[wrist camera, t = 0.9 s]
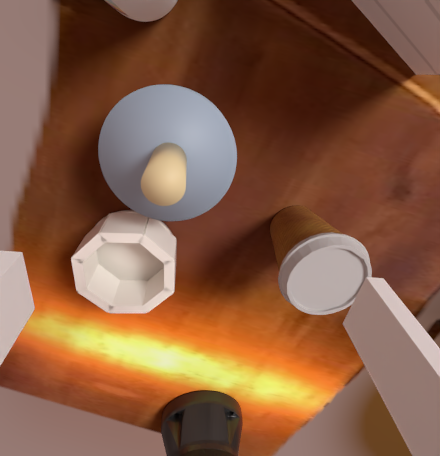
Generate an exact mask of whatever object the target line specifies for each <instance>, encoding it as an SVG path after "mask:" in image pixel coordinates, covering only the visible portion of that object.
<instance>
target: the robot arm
mask: <svg viewBox="0 0 440 456" xmlns="http://www.w3.org/2000/svg"><path fill="white" fill-rule="evenodd" d="M34 309H35V306H34V302H33V298H32V293H31V289H30V284H29V280H28V276H27V271H26V267H25V262H24V258H23V254H22V252H10V251H0V365H1V364H2V362H3V360H4V359H5V357H6V356H7V354H8V352H9V351H10V349H11V347H12V346H13V344H14V342H15V341H16V339H17V337H18V336H19V334H20V332H21V331H22V329H23V328H24V326H25V324H26V323H27V321H28V319H29V318H30V316H31V314H32V313H33V311H34ZM343 325H344V327H345V329H346V331H347V333H348V335H349V337H350V338H351V340H352V342H353V344H354V346H355V348H356V350H357V352H358V354H359V355H360V357H361V359H362V361H363V363H364V365H365V367H366V369H367V371H368V373H369V374H370V376H371V378H372V380H373V382H374V384H375V386H376V388H377V390H378V391H379V393H380V395H381V397H382V399H383V401H384V403H385V405H386V406H387V408H388V410H389V412H390V414H391V416H392V418H393V420H394V422H395V423H396V425H397V427H398V429H399V431H400V433H401V435H402V436H403V439H404V440H405V443H406V444H407V446H408V448H409V450H410V452H411V454H412V456H440V348H439V347H438V346H437V345H436V343H435V342H434V341H433V340H432V338H431V337H430V336H429V335H428V333H427V332H426V331H425V330H424V328H423V327H422V326H421V325H420V323H419V322H418V321H417V320H416V318H415V317H414V316H413V315H412V314H411V312H410V311H409V310H408V309H407V307H406V306H405V305H404V304H403V302H402V301H401V300H400V299H399V297H398V296H397V295H396V294H395V292H394V291H393V290H392V289H391V287H390V286H389V285H388V284H387V282H386V281H385V280H384V279H383V278H371V277H366V278H365V280H364V282H363V284H362V286H361V288H360V290H359V292H358V294H357V296H356V298H355V300H354V302H353V304H352V306H351V308H350V310H349V312H348V314H347V316H346V318H345V320H344V322H343ZM241 431H242V414H241V408H240V406H239V404H238V402H237V401H236V400H235V399H233V398H232V397H230V396H228V395H226V394H223V393H220V392H215V391H197V392H192V393H188V394H185V395H182V396H180V397H178V398H176V399H174V400H173V401H171V402H170V403H169V404H168V405H167V406H166V407H165V409H164V411H163V413H162V421H161V433H162V437H163V441H164V446H165V449H166V454H167V456H238V451H239V444H240V438H241Z"/></svg>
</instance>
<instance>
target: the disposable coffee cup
mask: <svg viewBox="0 0 440 456" xmlns="http://www.w3.org/2000/svg"><path fill="white" fill-rule="evenodd" d="M270 234H271V238H272V243H273V247H274V251H275V256H276V260H277V264H278V269H279V277H278V281H279V288H280V291H281V293H282V295H283V296H284V298H285V299H286V300H287V301H288V302H290V303H291V304H292V305H294V306H295V307H296V308H297V309H299V310H301V311H303V312H305V313H308V314H316V315H325V314H331V313H335V312H338V311H341V310H343V309H345V308H347V307H348V306H350V305H352V304H353V302H354V300H355V298H356V296H357V294H358V292H359V290H360V288H361V286H362V284H363V282H364V280H365V278H366V277H371V273H372V270H371V265H370V259H369V255H368V252H367V251H366V249H365V247H364V246H363V245H362V244H361V243H360V242H359V241H357V240H356V239H354V238H353V237H350V236H347V235H344V234H342V233H340V232H339V231H338V230H336V229H335V228H334V227H332V226H331V225H329V224H328V223H327V222H325V221H324V220H323V219H321V218H320V217H319V216H317V215H316V214H315V213H313V212H312V211H311V210H309V209H308V208H306V207H303V206H290V207H287V208H284V209H283V210H281V211H280V212H279V213H277V214H276V216H275V217H274V218H273V220H272V222H271V225H270Z"/></svg>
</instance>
